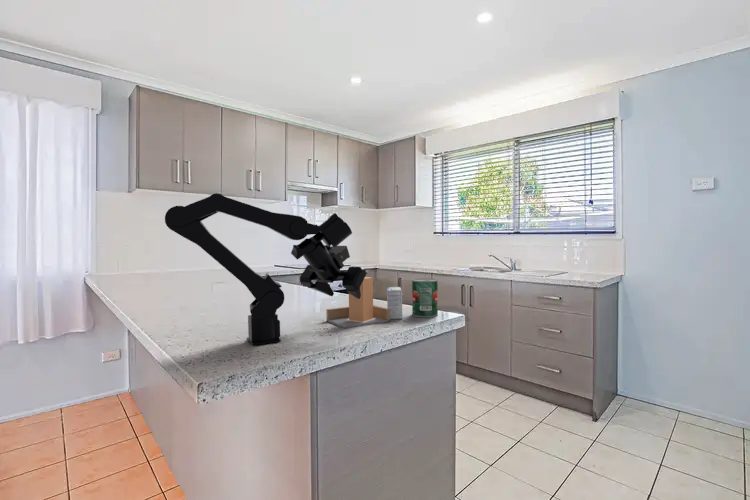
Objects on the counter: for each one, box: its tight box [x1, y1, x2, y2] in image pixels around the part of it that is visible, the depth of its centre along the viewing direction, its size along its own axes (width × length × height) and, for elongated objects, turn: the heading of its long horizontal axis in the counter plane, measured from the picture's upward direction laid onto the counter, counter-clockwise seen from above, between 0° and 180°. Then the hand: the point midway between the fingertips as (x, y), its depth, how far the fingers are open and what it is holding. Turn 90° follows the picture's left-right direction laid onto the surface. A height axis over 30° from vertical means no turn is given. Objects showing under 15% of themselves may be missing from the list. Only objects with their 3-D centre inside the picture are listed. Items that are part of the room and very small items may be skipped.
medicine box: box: [386, 286, 403, 320], centre depth 123 cm, size 8×4×9 cm, turn 179°
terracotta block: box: [348, 276, 374, 322], centre depth 116 cm, size 5×5×12 cm
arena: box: [325, 304, 391, 329], centre depth 116 cm, size 15×11×4 cm
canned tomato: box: [411, 278, 439, 318], centre depth 124 cm, size 8×8×11 cm
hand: (345, 296), depth 110 cm, fingers open, 9 cm apart
